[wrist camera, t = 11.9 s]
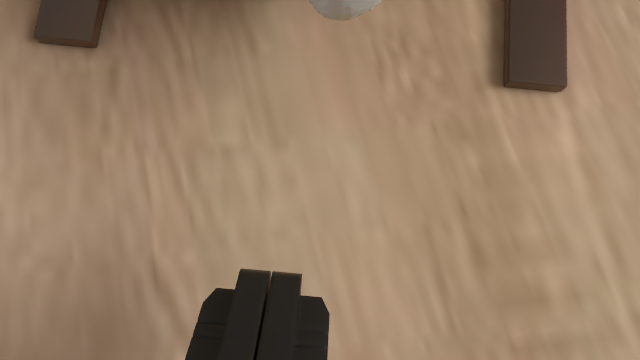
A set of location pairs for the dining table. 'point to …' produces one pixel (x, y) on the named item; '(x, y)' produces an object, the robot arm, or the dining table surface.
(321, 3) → the teacup
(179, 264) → the dining table surface
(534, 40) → the walnut frame
